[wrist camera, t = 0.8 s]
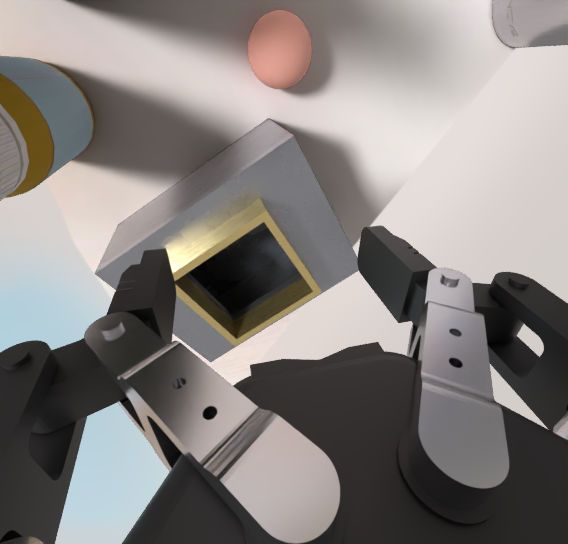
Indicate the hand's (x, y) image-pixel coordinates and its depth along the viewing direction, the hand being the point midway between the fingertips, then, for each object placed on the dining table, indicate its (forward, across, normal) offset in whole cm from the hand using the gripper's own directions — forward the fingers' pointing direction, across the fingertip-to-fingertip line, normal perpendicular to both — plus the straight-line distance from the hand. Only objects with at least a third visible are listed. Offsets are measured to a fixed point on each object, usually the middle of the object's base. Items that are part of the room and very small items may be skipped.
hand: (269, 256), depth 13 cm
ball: (+18, -4, -7) cm, 20 cm away
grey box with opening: (+20, +1, +8) cm, 22 cm away
